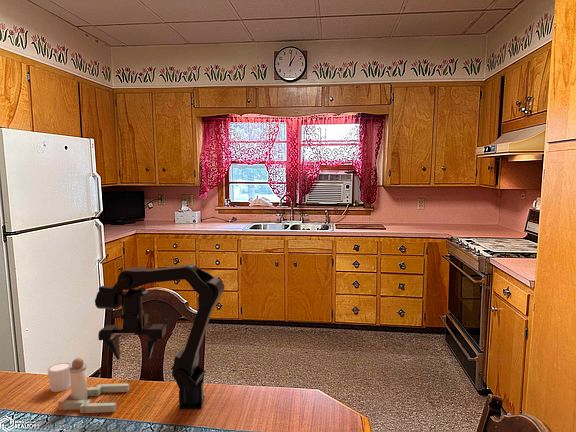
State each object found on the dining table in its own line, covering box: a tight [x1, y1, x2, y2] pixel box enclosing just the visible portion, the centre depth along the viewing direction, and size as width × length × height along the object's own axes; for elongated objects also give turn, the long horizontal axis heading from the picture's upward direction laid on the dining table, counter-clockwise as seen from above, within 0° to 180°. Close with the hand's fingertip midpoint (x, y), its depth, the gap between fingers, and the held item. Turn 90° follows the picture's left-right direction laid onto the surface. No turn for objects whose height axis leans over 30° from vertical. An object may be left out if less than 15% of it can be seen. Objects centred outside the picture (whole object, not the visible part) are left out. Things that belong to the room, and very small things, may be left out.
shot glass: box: [47, 362, 72, 393], centre depth 133 cm, size 7×7×7 cm
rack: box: [57, 383, 130, 414], centre depth 124 cm, size 17×13×2 cm
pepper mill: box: [69, 357, 89, 400], centre depth 124 cm, size 5×5×14 cm
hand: (133, 359), depth 124 cm, fingers open, 9 cm apart
